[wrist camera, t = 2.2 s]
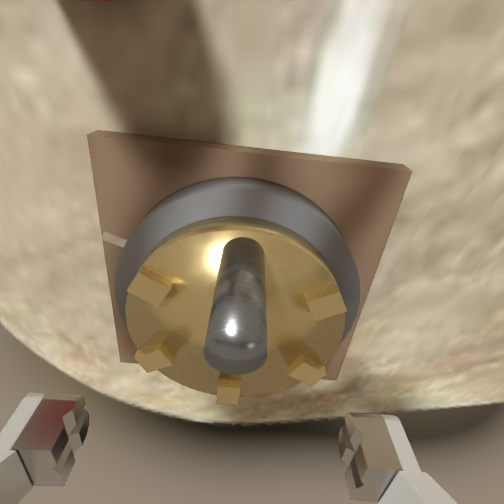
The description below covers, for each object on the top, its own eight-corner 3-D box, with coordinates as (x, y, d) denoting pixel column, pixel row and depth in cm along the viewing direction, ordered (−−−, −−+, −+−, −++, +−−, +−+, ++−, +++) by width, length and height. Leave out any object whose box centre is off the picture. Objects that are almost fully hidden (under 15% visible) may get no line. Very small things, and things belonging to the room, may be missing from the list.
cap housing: (403, 164, 22) (430, 184, 18) (333, 367, 32) (342, 404, 29) (97, 130, 21) (66, 144, 17) (126, 349, 31) (109, 385, 28)
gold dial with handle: (363, 228, 20) (432, 341, 12) (315, 381, 27) (338, 513, 19) (126, 204, 19) (36, 305, 11) (142, 366, 26) (93, 496, 18)
